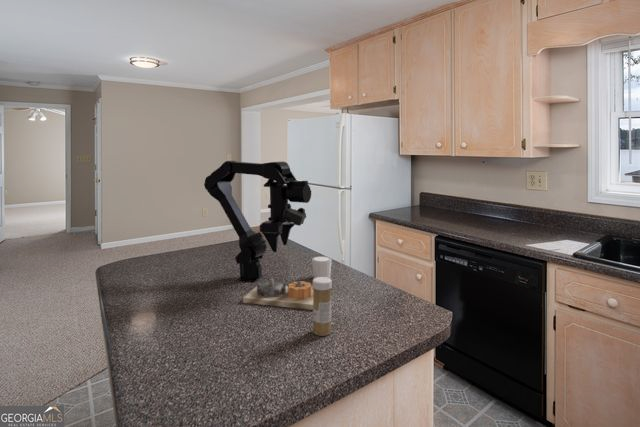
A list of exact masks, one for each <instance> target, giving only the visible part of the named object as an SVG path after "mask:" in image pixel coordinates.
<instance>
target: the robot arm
mask: <svg viewBox="0 0 640 427" xmlns="http://www.w3.org/2000/svg"><path fill="white" fill-rule="evenodd" d="M236 174H241V175H250V176H251V175H253V176H259V177H262V178H264V179H267V181H266V182H265V183H264V184H263V187H264V188H269V204H268V205H267V208H268V209H270V211H269V213H270V216H269V217H267V218H268V219H267V220H265V221H264V222H261V224H259V231H258V232H255V231H254V230H252V228H251V226H250V225H249V222H248V221H247V219H246V217H245V216H244V214H243V212H242V210H241V209H240V206H239V205H238V203H237V202H236V200H235V198H234V196H233V192H232V191H233V190H232V189H233V188H232V182H233V180H234V179H235V176H236ZM203 186H204V189H205V190H206V191H207V192H208V194H209V195H210V196H211V197H212V198H213V199H215V200H216V201H217V202H218V203H219V204H220V206H221V208H222V210H223V211H224V213H225V215H226V217H227V218H228V220H229V222H230V224H231V225H232V227H233V229H234V231H235V233H236V234H237V236H238V245H239V249H240V251H239V253H237V255H236V256H235V258H234V259H235V261H236V264H238V265H239V277H238V278H237V280H238V281H243V282H244V281H245V282H257V281H258V280H260V278H262V277H263V274H262V273H263V272H262V270H263V269H262V264H261V260H262V259H263V256H264V254H265V253H266V251H267V244H266V242H267V243H268V245H269V247H270V249H271V250H272V252H273V253H277V252H278V244H279V237H280V240H281V242H282V245H283V246H287V245H288V241H289V237H290V233H291V230H292V229H293V227H294V226H297V227H298V226H300V227H301V225H303V224H304V222H305V219H306V218H307V213H306V210H305V208H303V207H299V208H298V209H296V208H295V209H294V208H292V205H291V203H305V204H308V203H309V202H310V200H311V198H312V190H311V187H310V185H309V181H308V180H297V178H296V177H295V175H294V174H293V172H292V171H291V168H290V165H289V163H288V162H287V161H271V162H264V163H261V162H260V163H259V162H246V161H237V160H225V161H224V162H223V163H222V164H221V165H220V166H219V167H218V168H216V169H215V170H213V171H212V172H211V173H210V174H209V175H207V176H206V177H205V179H204V183H203ZM289 202H290V203H289ZM263 236H264V237H265V239H266V240H265V239H264V238H263Z"/></svg>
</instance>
